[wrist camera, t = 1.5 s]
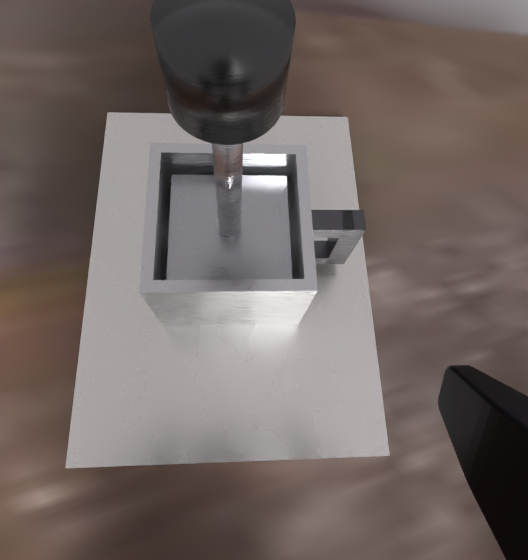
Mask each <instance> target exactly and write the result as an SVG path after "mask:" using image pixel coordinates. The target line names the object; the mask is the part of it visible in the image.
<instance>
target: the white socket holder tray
mask: <svg viewBox="0 0 528 560" xmlns="http://www.w3.org/2000/svg"><path fill="white" fill-rule="evenodd" d="M172 175H214V164H213V151H212V143H209V142H205V141H202V140H200V139H197V138H195V137H194V136H192V135H190V134H189V133H187V132H186V131H185V130H183V129H182V128H181V127H180V126H179V125H178V124H177V122H176V121H175V120H174V118H173V116H172V115H171V114H166V113H115V112H108V113H107V121H106V130H105V138H104V146H103V155H102V163H101V172H100V180H99V189H98V197H97V206H96V214H95V222H94V231H93V239H92V248H91V256H90V265H89V273H88V281H87V290H86V298H85V307H84V315H83V324H82V332H81V341H80V349H79V357H78V366H77V374H76V383H75V391H74V400H73V408H72V416H71V425H70V433H69V442H68V450H67V459H66V467H65V468H86V467H112V466H137V465H163V464H188V463H214V462H239V461H264V460H290V459H315V458H341V457H366V456H390V455H389V447H388V439H387V430H386V422H385V414H384V406H383V398H382V390H381V382H380V374H379V366H378V358H377V350H376V342H375V334H374V326H373V318H372V310H371V301H370V293H369V285H368V277H367V269H366V261H365V253H364V245H363V237H362V235H363V234H364V232H365V231H366V226H365V218H364V210H359V205H358V197H357V189H356V181H355V173H354V164H353V156H352V148H351V140H350V132H349V124H348V117H318V116H280V118H279V120H278V121H277V123H276V124H275V125H274V126H273V127H272V128H271V129H270V130H269V131H268V132H267V133H265V134H264V135H262V136H261V137H259V138H257V139H255V140H252V141H250V142H246V143H243V169H242V175H263V176H286V177H287V194H288V211H289V228H290V245H291V262H292V279H242V280H166V277H167V257H168V237H169V217H170V198H171V178H172Z"/></svg>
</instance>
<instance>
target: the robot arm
mask: <svg viewBox="0 0 528 560" xmlns="http://www.w3.org/2000/svg"><path fill="white" fill-rule="evenodd" d="M438 406H439V410H440V413H441V416H442V418H443V421H444V423H445V426H446V429H447V431H448V434H449V437H450V439H451V442H452V444H453V447H454V450H455V452H456V455H457V457H458V460H459V463H460V465H461V468H462V470H463V473H464V475H465V478H466V480H467V482H468V484H469V486H470V489H471V491H472V493H473V495H474V497H475V499H476V501H477V503H478V505H479V507H480V509H481V511H482V513H483V515H484V517H485V519H486V521H487V523H488V525H489V527H490V529H491V530H492V532H493V534H494V536H495V538H496V540H497V542H498V544H499V546H500V548H501V550H502V552H503V554H504V556H505V558H506V560H528V396H526V395H524V394H522V393H520V392H518V391H517V390H515V389H513V388H511V387H509V386H507V385H505V384H503V383H502V382H500V381H498V380H496V379H494V378H492V377H490V376H488V375H487V374H485V373H483V372H481V371H479V370H477V369H475V368H473V367H471V366H469V365H452V366H449V367H447V369H446V370H445V373H444V377H443V381H442V385H441V389H440V393H439V397H438Z"/></svg>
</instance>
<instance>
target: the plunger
mask: <svg viewBox="0 0 528 560" xmlns="http://www.w3.org/2000/svg"><path fill="white" fill-rule="evenodd" d="M295 23H296V18H295V12H294V9H293V6H292V4H291V2H290V0H154V1H153V4H152V8H151V24H152V29H153V34H154V38H155V43H156V48H157V53H158V58H159V63H160V68H161V72H162V77H163V82H164V87H165V92H166V97H167V102H168V106H169V110H170V112H171V115H172V116H173V118H174V120H175V121H176V122H177V124H178V125H179V126H180V127H181V128H182V129H183V130H185V131H186V132H187V133H189V134H190V135H192V136H194V137H195V138H197V139H200V140H202V141H205V142H209V143H212V151H213V164H214V175H172V178H171V198H170V217H169V237H168V257H167V277H166V280H242V279H292V262H291V245H290V228H289V211H288V194H287V177H286V176H263V175H242V169H243V143H246V142H250V141H252V140H255V139H257V138H259V137H261V136H262V135H264V134H265V133H267V132H268V131H269V130H270V129H271V128H272V127H273V126H274V125H275V124H276V123H277V121H278V120H279V118H280V116H281V113H282V111H283V106H284V99H285V93H286V86H287V79H288V72H289V65H290V59H291V52H292V45H293V38H294V31H295Z"/></svg>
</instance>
